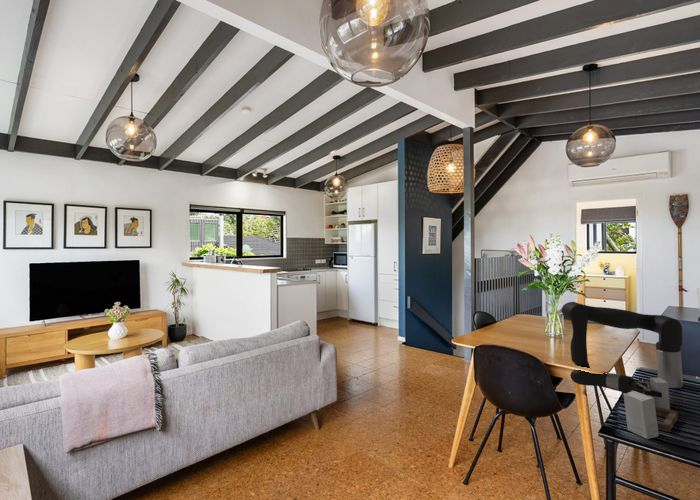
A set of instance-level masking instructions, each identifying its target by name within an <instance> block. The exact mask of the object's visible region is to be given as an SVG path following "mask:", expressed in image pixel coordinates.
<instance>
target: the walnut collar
mask: <svg viewBox="0 0 700 500" xmlns="http://www.w3.org/2000/svg"><path fill="white" fill-rule="evenodd" d="M655 410H656V416H659V417H665V418H664V420H663V421H659V420H657V425H658V431H659V430H660V431H662V432H663V431H664V432H667V433H670V432H671V430H672V428H673V427H674V425H675V424H676V422H677V421H678V420H679V419H678V418H679V412H678V411H675V410H671V409H670V410H668V409H664V408H659V407H655ZM624 419H625V421H626V422H627V419H626V414H625V416H624Z"/></svg>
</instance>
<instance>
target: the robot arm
mask: <svg viewBox="0 0 700 500" xmlns="http://www.w3.org/2000/svg"><path fill="white" fill-rule="evenodd" d="M561 313H562V316H564V317H565V318H566V319H568V320H569V321H571V326H572V337H571V341H570V348H569V349H570V356H571V357H570V358H571V361H572V363H574V366H575V365H577V366H581V367H587V368H590V369H591V366H590V364H589V363H590V362H589V359H588V347H587V346H588V345H587V344H588V343H587V334H588V333H587V332H588V322H589V321H590V322H594V323H596V324H600V325H602V326H607V327H611V328H616V329H623V330H634V329H639V330H646V331H650V332H653V333H656V334H659V335H660V341H657V342H656V343H655V355H656V357H655V358H656V369H657V378H661V379H663V380H664V381H666V382H668V388H671V389H672V388H673V389H679V388H683V387H684V381H683V380H684V378H683V364H682V352H681V350H682V349H681V348H682V345H683V327H682V324H681V322H680V321H679V320H678V319H676V318H673V317H670V316H666V315H662V314H661V315H660V314H646V313H644V314H643V313H639V312H635V311H631V310H628V309H620V308H611V307H603V306H592V305H591V306H590V305H587V304H581V303H579V302H575V301H569V302H565V304H563V305H562V307H561ZM603 372H604V371H603ZM605 373H607V374H605ZM603 374H604V375H600V374H595V375H593V374H591V373H589V372H585V371H581V370H575V369H573V370H572V371H571V372H570V375H569V377H570V378H571V381H572V382H574V383H575V384H578V385H581V386H589V387H590V386H591V387H592V386H596V387H600V388H604V389H610V390H612V391H618V392H621V393H624V394H625V393H629V392H632V391H636V392H639V393H641V394H644V395H647V396H650V397H651V396H655V397H659V398H662V393H661V392H658V391H653V390H651V391H650V379H644V378H639V379H638V380H634V377H633V376H630V375H625V374H621V373H620V374H618V373H613V372H611V373H610V372H606V371H605V372H604V373H603Z"/></svg>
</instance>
